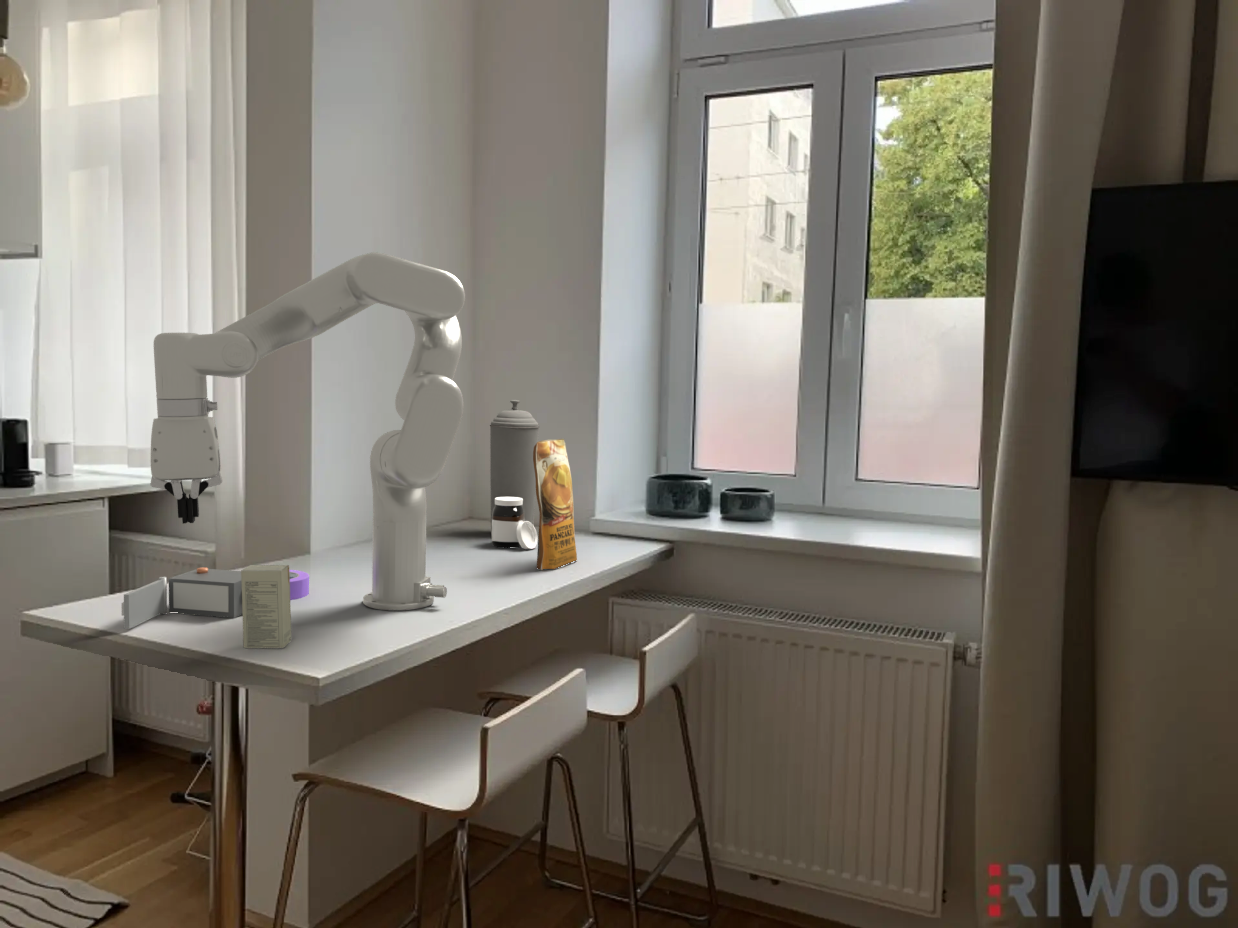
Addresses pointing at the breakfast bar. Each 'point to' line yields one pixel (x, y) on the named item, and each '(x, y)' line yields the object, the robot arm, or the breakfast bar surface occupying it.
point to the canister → (513, 458)
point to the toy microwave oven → (206, 593)
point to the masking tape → (298, 584)
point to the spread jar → (511, 525)
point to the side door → (145, 603)
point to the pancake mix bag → (554, 505)
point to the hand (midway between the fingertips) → (188, 521)
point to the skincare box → (266, 606)
